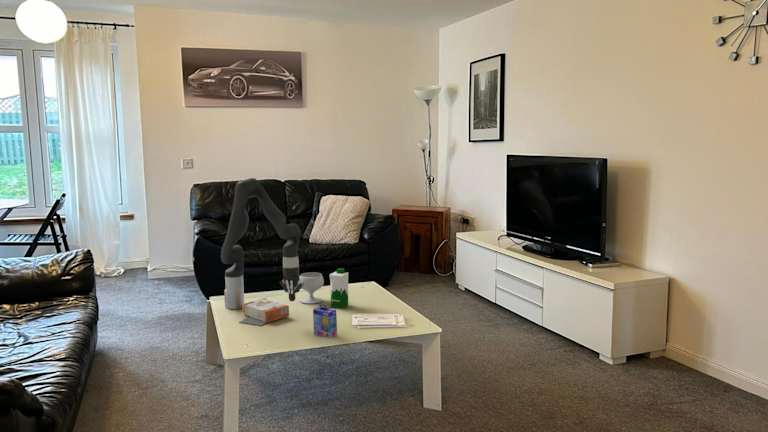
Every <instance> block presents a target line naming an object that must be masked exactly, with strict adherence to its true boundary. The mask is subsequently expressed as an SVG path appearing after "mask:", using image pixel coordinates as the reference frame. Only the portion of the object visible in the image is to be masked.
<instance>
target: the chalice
mask: <svg viewBox="0 0 768 432" xmlns="http://www.w3.org/2000/svg"><path fill="white" fill-rule="evenodd" d="M299 278H300V281H301V282H303V283H304V285H303V286H302V288H301V289H302V290H304V291H306V292H307V293H308V294H309V297H303V298H301V299H300V303H301V304H302V303H303V304H309V305H314V304H319V303H321V302H323V299H322V298H321V297H318V296H314V294H315V292H316V291H318V290H319V289H321V288H322V287H323V286H324V284H325V280H324V276H323V275H322V273H320V272H314V271H312V272H303V273H301V274H299Z"/></svg>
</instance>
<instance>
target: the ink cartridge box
mask: <svg viewBox="0 0 768 432" xmlns="http://www.w3.org/2000/svg"><path fill="white" fill-rule="evenodd" d="M312 316H313V317H312V319H313V335H315V336H319V337H322V338H327V339H332V338H334V337H336V336H338V325H337V309H336V308H331V307H327V306H326V305H323V304H319V306H318V307H315V308H313V309H312Z"/></svg>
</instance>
